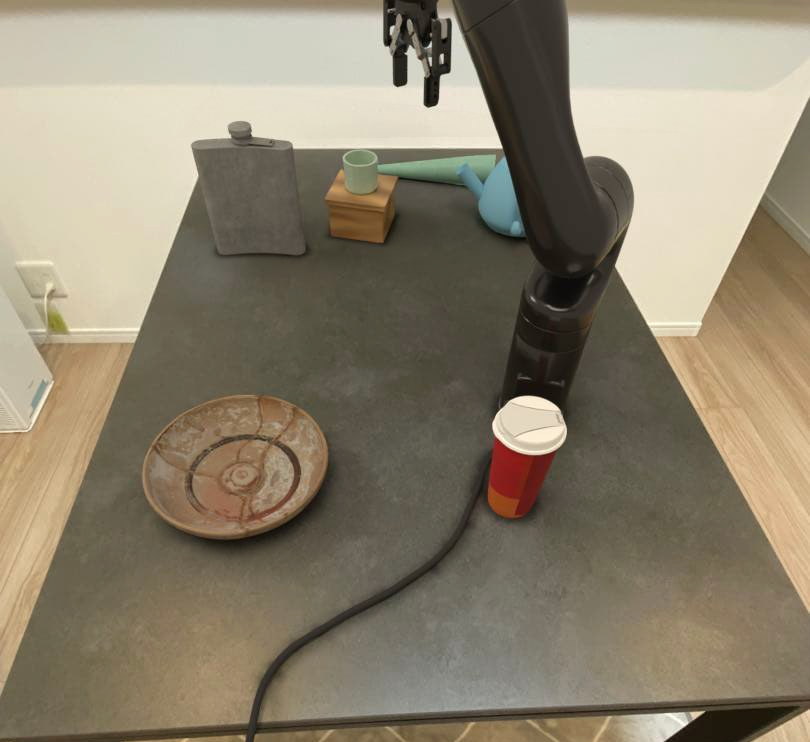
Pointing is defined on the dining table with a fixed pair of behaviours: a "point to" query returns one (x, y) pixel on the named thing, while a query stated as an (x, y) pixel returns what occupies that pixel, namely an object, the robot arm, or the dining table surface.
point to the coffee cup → (523, 453)
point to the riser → (362, 210)
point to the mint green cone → (441, 169)
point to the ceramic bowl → (235, 466)
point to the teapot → (495, 199)
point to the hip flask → (250, 192)
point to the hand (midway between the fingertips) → (415, 95)
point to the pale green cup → (360, 171)
